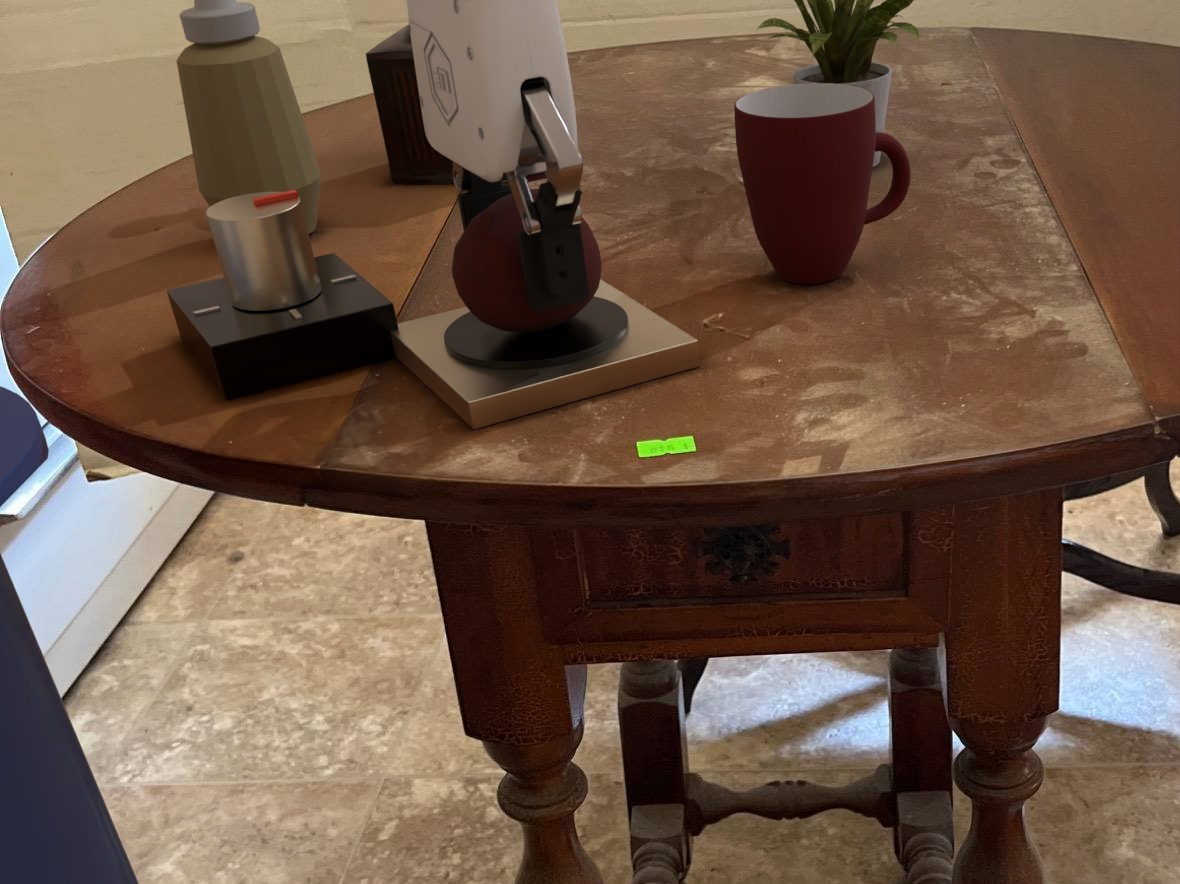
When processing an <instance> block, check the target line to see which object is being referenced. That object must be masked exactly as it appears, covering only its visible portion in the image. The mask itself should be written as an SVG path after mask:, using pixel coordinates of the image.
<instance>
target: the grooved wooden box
mask: <svg viewBox="0 0 1180 884" xmlns="http://www.w3.org/2000/svg"><path fill="white" fill-rule="evenodd" d="M365 58H366V64H367V69H368V74H369V77H370V82H371V87H372V91H373V96H374V101H375V105H376V109H377V114H378V118H379V124H380V128H381V132H382V133H381V134H382V137H383V142H384V147H385V151H386V156H387V162H388V167H389V173H390V179H391V181H392V183H393V184H404V185H405V184H406V185H430V184H431V185H433V184H435V185H437V184H454V180H453V161H452V160H450V159H449V158H447V157H445V156H444V155H442V154H441V153H439V152H438V151H436V150H435V149H434V148H433V147H432V146H431V145H430V143H429V141H428V139H427V137H426V134H425V129H424V123H423V117H422V111H421V104H420V97H419V91H418V84H417V77H416V70H415V63H414V56H413V49H412V42H411V35H410V27H409V24H407V25H405V26H404V27H401V28H400V29H399V30H398V31H397V30H396V32H394V33H393V34H391V35H390V36H388V37H387V38H385V39H384V40H382V41H381V42H379V43H378V44H376V45H375V46H374V47H372V48H371V49H370V50H369V51H367V52H366V53H365ZM541 160H544V158H543V157H541V156H539V155H537V154H533V155H528V156H524V157H519V159H518V164H519V165H522V164H527V163H532V162H536V161H541Z"/></svg>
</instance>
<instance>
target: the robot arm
mask: <svg viewBox="0 0 1180 884" xmlns="http://www.w3.org/2000/svg"><path fill="white" fill-rule="evenodd" d="M405 1H406V10H407V19H408V25H409V27H410V35H411V42H412V49H413V56H414V63H415V70H416V77H417V84H418V91H419V97H420V104H421V111H422V117H423V123H424V129H425V134H426V137H427V139H428V141H429V143H430V145H431V146H432V147H433V148H434V149H435V150H436V151H438V152H439V153H441V154H442V155H444V156H445V157H447V158H449V159H450V160H452V161H453V180H454V183H453V184H454V186H455V188H456V190H457V192H459V193H458V194H457V201H458V206H459V212H460V218H461V224H462V229H463V232H464V231H465V229H466V227H467V226H468V224H469V223H470V221H471V220H472V219H473V218H474V217H476V216H477V215H478V214H479V213H481V212H482V211H483V210H485V209H486V208H487V207H489V206H490V205H491V204H493V203H494V202H495V201H497V200H498V199H500V198H503V197H505V196H507V195H509V194H513V197H514V200H515V203H516V206H517V209H518V212H519V215H520V218H521V221H522V224H523V227H524V230H525V231H520V232H517V237H518V243H519V250H520V256H521V262H522V269H523V275H524V281H525V288H526V294H527V300H528V305H529V307H530V308H531V309H533V310H534V311H536V312H543V311H547V310H551V309H555V308H558V307H562V306H566V305H570V304H574V303H578V302H582V301H585V300H586V299H587V298H588V296H589V287H588V280H587V272H586V265H585V257H584V250H583V242H582V235H581V227H580V224H581V223H582V217H583V213H582V209H581V206H580V202H581V197H582V195H583V191H582V190H581V189H580V187H581V180H582V176H583V171H584V160H583V157H582V154H581V152H580V150H579V140H578V139H579V138H578V137H579V136H578V126H577V115H576V114H577V113H576V106H575V105H576V104H575V97H574V90H573V86H572V77H571V70H570V65H569V59H568V52H567V46H566V42H565V35H564V30H563V24H562V20H561V13H560V8H559V3H558V0H405ZM533 154H537V155H539V156H541V157H543V159H542V160H541V161H536V162H532V163H527V164H522V165H519V164H518V159H519V157H524V156H528V155H533ZM541 180H546V182H543V183H540V184H539V187H538V189H539V190H538V193H537V196H536V200H535V203H534V200H533V197H532V194H531V191H530V189H531V188H530V185H529V183H531V182H535V181H541Z"/></svg>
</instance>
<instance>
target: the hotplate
mask: <svg viewBox="0 0 1180 884" xmlns="http://www.w3.org/2000/svg"><path fill="white" fill-rule="evenodd" d="M397 324H398V329H399V330H395V331H391V337H392V341H393V346H394V351H395V355H396V357H395V358H397V359H398V360H399V361H400V362H401V363H402V364H403V365H404V366H405V367H406V368H407V369H408V370H409V371H410V372H412V373H413V375H415V376H416V377H417V378H418V379H419V380H420V381H421V382H422V383H423V384H425V386H426V387H427V388H429V389H430V390H431V391H432V392H433V393H434V394H435V395H436V396H437V397H438V398H439V399H440V400H441V401H443V402H444V403H445V405H447V406H448V407H449V408H450V409H451V410H452V412H454V413H455V414H456V415H458V416H459V418H461V420H463V421H464V422H465V423H466V424H467V425H468V426H469V427H470V428H472V430H478V429H482V428H484V427H488V426H492V425H495V424H498V423H502V422H506V421H510V420H513V419H517V418H520V417H524V416H527V415H531V414H534V413H538V412H542V411H545V410H548V409H552V408H555V407H559V406H563V405H567V404H570V403H573V402H578V401H581V400H585V399H588V398H591V397H592V398H593V397H595V396H598V395H602V394H603V395H604V394H606V393H610V392H613V391H617V390H621V389H623V388H627V387H631V386H634V385H635V386H636V385H638V384H641V383H645V382H648V381H653V380H656V379H659V378H663V377H666V376H670V375H674V374H678V373H681V372H684V371H689V370H692V369H696V368H699V367H700V366H701V362H700V350H699V341H698V339H697V338H695V337H693V336H691V334H689V333H687V332H686V331H684V330H683V329H681V328H679V327H677V326H676V325H674V324H673V323H671V322H669V320H667V319H665V318H663V317H662V316H660V315H658V314H657V313H655V312H653V311H652V310H651V309H649V308H647V307H646V306H644V305H643V304H641V303H639V302H638V301H636V300H635V299H633V298H632V297H630V296H628V295H627V294H625V293H623V292H622V291H621V290H619V289H617V288H616V287H614V286H613V285H611V284H609V283H608V282H606V281H604V280H603V279H601V278H600V283H599V287H598V289H597V291H596V293H595V295H594V297H593V299H592V300H591V301H590V302H589V303H588V304H587V305H586V306H585V307H584V308H583V309H582V310H581V311H580V312H579V313H578V314H577V315H576V316H574V317H573V318H572V319H570V320H568V321H566V322H564V323H562V324H560V325H557V326H554V327H551V328H547V329H544V330H541V331H535V332H509V331H502V330H500V329H497V328H495V327H492V326H490V325H488V324H485V323H483V322H481V321H480V320H479V319H478V318H477V317H475V316H474V315H473V314H472V313H471V312H470V310H469V309H468V308H467V307H466V306H463V307H460V308H456V309H451V310H448V311H443V312H440V313H436V314H432V315H431V314H430V315H427V316H423V317H419V318H416V319H410V320H407V321H403V322H399V323H398V322H397Z"/></svg>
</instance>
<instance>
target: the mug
mask: <svg viewBox="0 0 1180 884" xmlns="http://www.w3.org/2000/svg"><path fill="white" fill-rule="evenodd" d="M733 107H734V109H733V110H734V131H735V132H734V133H735V146H736V155H737V161H738V165H739V168H740V173H741V178H742V182H743V187H744V190H745V195H746V200H747V203H748V208H749V212H750V216H751V217H750V218H751V221H752V225H753V228H754V232H755V235H756V238H757V240H758V243H759V245H760V247H761V248H762V250H763V253H764V254H765V256H766V258H767V259H768V261H769V262H770V264H771V266H772V268H773V269H774V271H775V272H776V274H777V276H778V277H779V278H780V279H781V280H782V281H784V282H787V283H791V284H795V285H817V284H818V285H819V284H824V283H828V282H831V281H835V280H836V279H839V278H840V277H841V276H843V274H844V272H845V271H846V269H847V267H848V265H849V263H850V261H851V259H852V257H853V255H854V253H855V251H856V249H857V246H858V244H859V242H860V239H861V236H862V234H863V230H864V226H865V225H868V224H872V223H875V222H878V221H880V220H883V219H884V218H887V217H888V216H889V215H891V214H892V213H894V212H895V211H896V210H897V209H898V208H899V207H900V206H901V205H902V204H903V202H904V200H905V199H906V197H907V194H908V192H909V188H910V184H911V165H910V159H909V156H908V153H907V151H906V149H905V148H904V146H903V145H902V144H901V142H900V141H899V140H898V139H897V138H895V137H894V136H893V135H892V134H889V133H886V132H884V133H881V132H876V120H875V98H874V95H873V94H872V93H871V92H870V91H868V90H866V89H864V88H861V87H857V86H852V85H844V84H833V83H806V84H794V83H792V84H785V85H778V86H772V87H767V88H766V87H765V88H762V89H759V90H755V91H752V92H749V93H746V94H744V95H742V96H740V97H739V98H738V99H737V100H736V101H735V102H734V106H733ZM876 151H881V153H884V154H885V155H886V156H887V158H888V159H889V161H890V165H891V169H892V178H891V184H890V187H889V190H888V192H887V194H886V195H885V196H884V198H883V199H882V200H881V201H880V202H879V203H877V204H876V205H874V206H871V207H869V208H868V201H869V195H870V194H869V193H870V188H871V180H872V175H873V168H874V167H873V162H874V154H875V152H876Z"/></svg>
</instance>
